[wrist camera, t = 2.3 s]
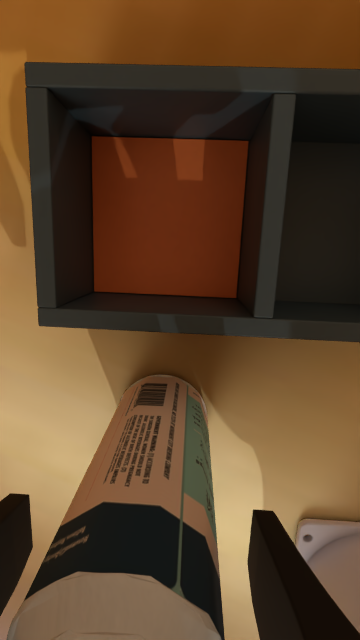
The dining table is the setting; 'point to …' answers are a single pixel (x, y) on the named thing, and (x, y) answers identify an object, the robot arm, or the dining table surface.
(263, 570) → the robot arm
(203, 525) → the beer can
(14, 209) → the dining table surface
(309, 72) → the organizer
